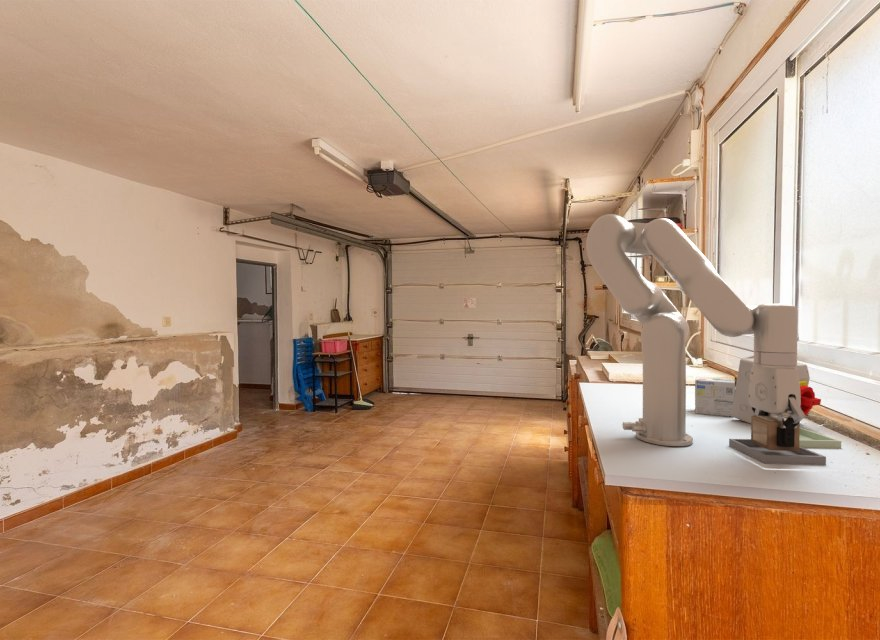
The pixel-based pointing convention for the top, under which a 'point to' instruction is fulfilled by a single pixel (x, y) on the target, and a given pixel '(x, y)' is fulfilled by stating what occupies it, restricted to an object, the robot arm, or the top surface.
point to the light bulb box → (714, 396)
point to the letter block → (770, 433)
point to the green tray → (816, 440)
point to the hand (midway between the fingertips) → (774, 441)
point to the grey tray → (777, 454)
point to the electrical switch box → (740, 402)
